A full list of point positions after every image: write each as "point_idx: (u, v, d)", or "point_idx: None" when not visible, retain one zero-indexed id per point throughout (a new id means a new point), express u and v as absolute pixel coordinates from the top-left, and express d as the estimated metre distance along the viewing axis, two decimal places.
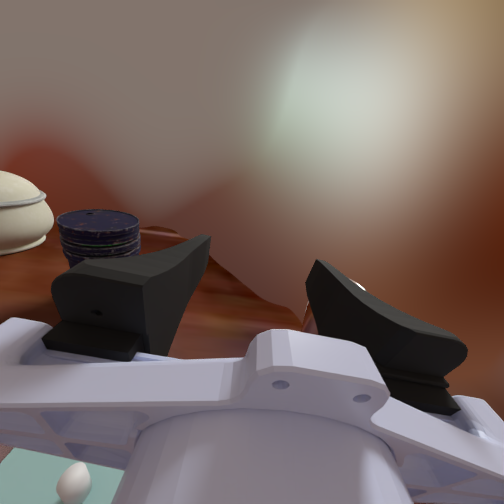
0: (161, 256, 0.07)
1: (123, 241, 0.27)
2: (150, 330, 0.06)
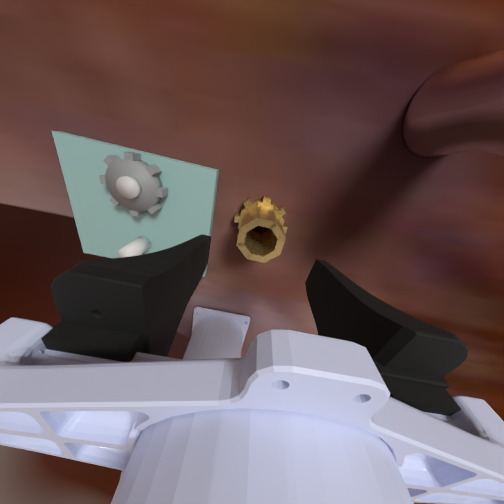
0: (161, 256, 0.07)
1: None
2: (150, 330, 0.06)
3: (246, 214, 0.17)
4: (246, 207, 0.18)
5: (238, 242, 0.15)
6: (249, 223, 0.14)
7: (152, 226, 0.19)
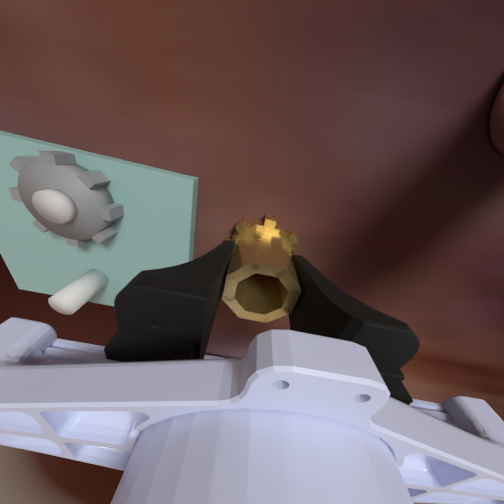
0: (201, 264, 0.07)
1: None
2: (202, 339, 0.06)
3: (239, 245, 0.11)
4: (239, 232, 0.12)
5: (225, 295, 0.09)
6: (242, 269, 0.09)
7: (106, 257, 0.13)
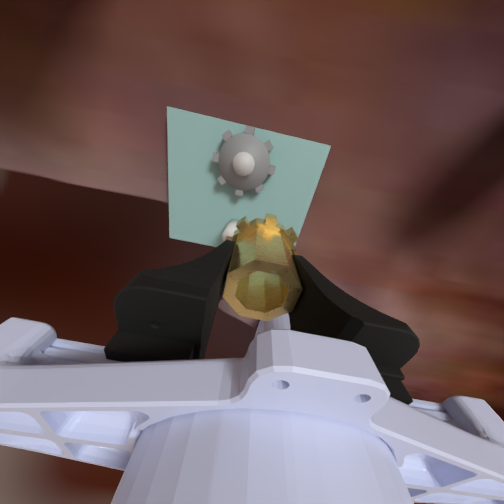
0: (201, 264, 0.07)
1: None
2: (202, 339, 0.06)
3: (240, 243, 0.11)
4: (240, 231, 0.12)
5: (226, 293, 0.09)
6: (243, 267, 0.09)
7: (247, 208, 0.19)
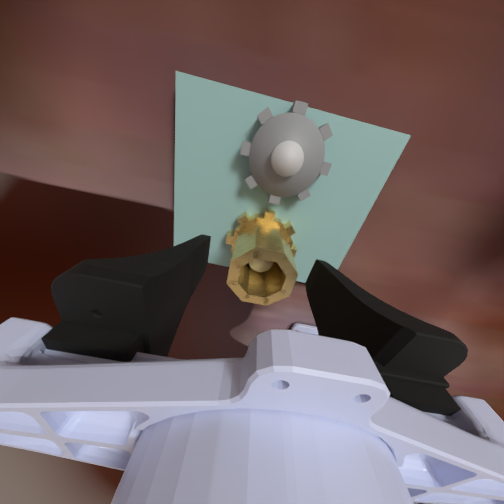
0: (161, 256, 0.07)
1: None
2: (150, 330, 0.06)
3: (241, 236, 0.12)
4: (241, 225, 0.13)
5: (229, 280, 0.10)
6: (244, 255, 0.10)
7: None
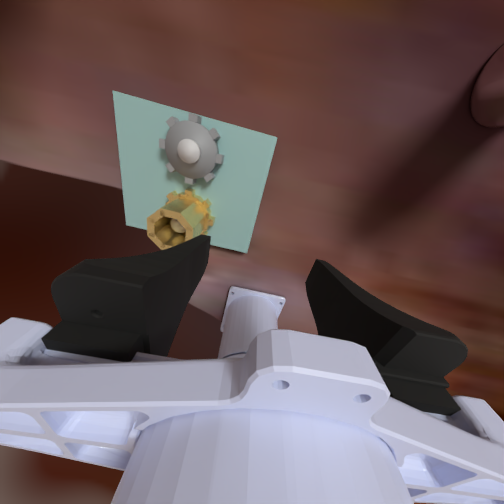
0: (161, 256, 0.07)
1: None
2: (150, 330, 0.06)
3: None
4: (169, 199, 0.18)
5: (149, 232, 0.15)
6: (154, 213, 0.15)
7: None
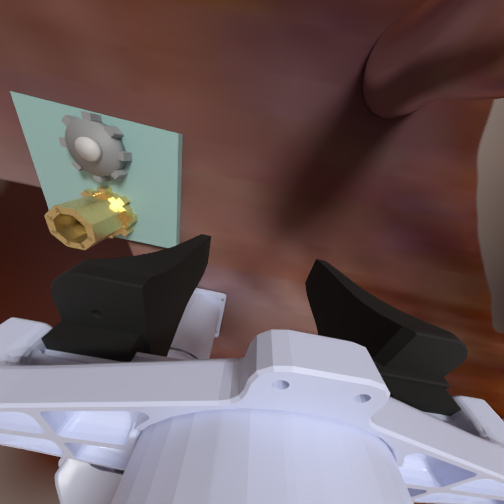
0: (161, 256, 0.07)
1: None
2: (150, 330, 0.06)
3: None
4: None
5: (51, 230, 0.16)
6: (50, 211, 0.15)
7: None
